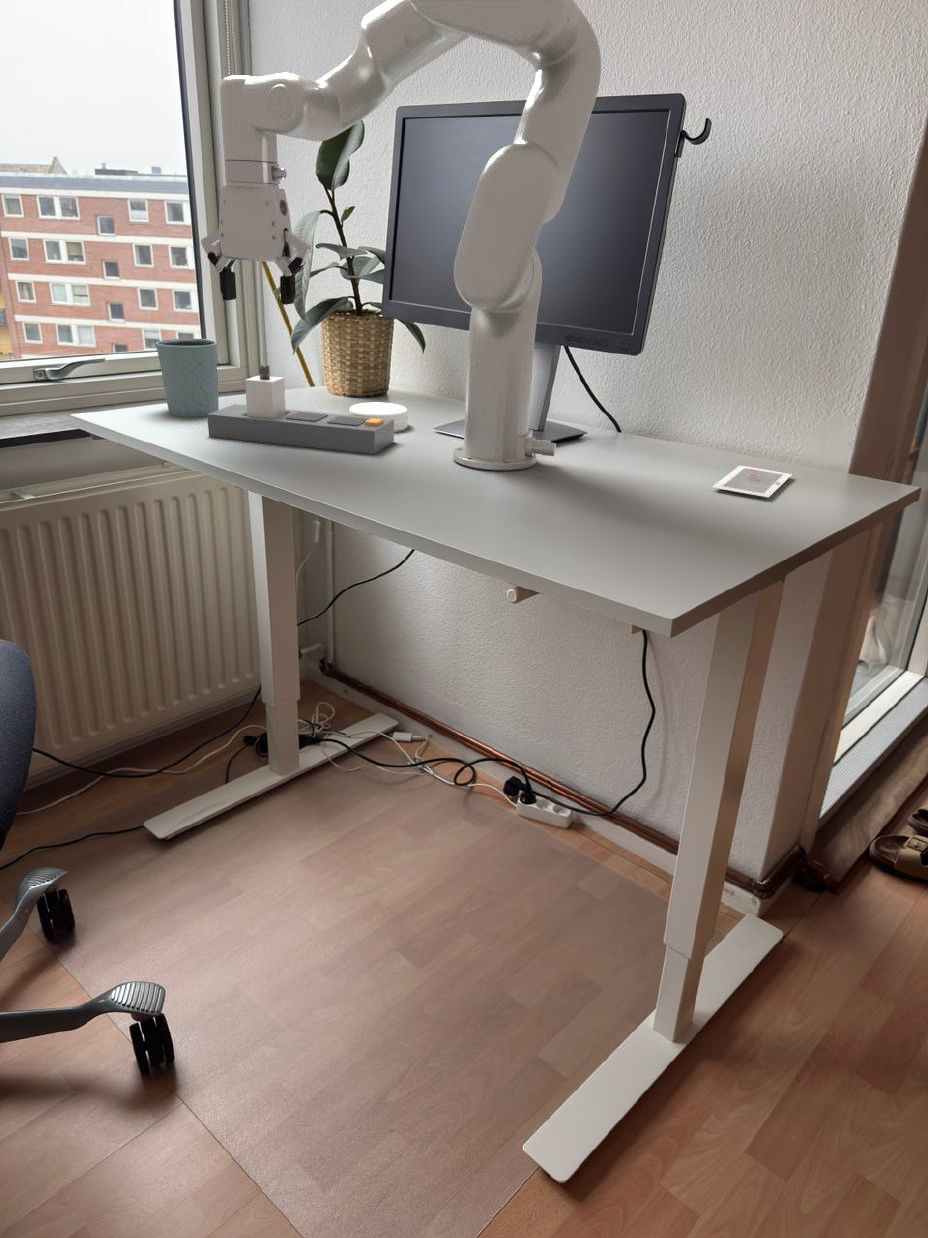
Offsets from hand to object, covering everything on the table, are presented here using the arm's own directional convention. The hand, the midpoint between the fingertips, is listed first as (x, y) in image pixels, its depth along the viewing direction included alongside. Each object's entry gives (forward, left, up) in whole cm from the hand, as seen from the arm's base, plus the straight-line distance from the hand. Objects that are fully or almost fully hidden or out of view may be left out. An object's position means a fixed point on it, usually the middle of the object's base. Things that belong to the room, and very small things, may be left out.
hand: (258, 301), depth 135 cm
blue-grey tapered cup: (+20, -11, -21) cm, 30 cm away
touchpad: (-76, -1, -21) cm, 79 cm away
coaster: (-14, -14, -21) cm, 29 cm away
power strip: (-6, 0, -20) cm, 21 cm away
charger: (0, 0, -20) cm, 21 cm away
